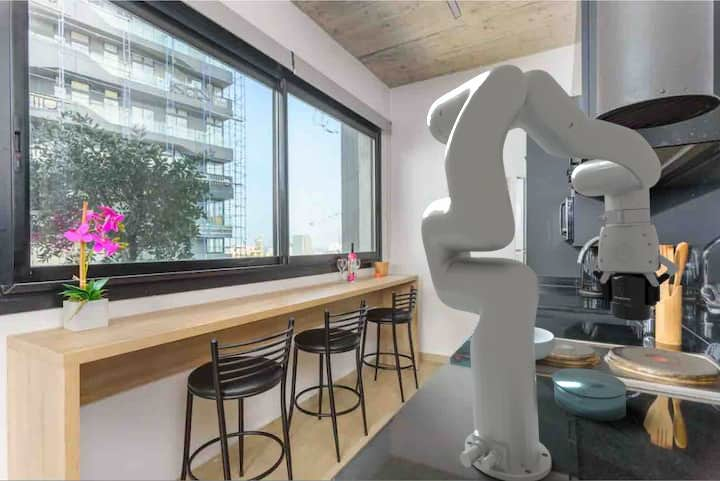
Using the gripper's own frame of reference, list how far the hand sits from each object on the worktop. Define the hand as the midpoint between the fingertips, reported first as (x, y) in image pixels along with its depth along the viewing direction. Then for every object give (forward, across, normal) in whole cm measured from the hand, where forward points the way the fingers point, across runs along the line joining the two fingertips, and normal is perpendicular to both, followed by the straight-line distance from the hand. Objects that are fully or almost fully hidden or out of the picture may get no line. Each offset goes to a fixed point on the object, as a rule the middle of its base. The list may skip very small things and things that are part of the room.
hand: (630, 302), depth 74 cm
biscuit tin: (+20, -5, -12) cm, 23 cm away
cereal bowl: (+20, -27, +5) cm, 34 cm away
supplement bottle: (+4, 0, 0) cm, 4 cm away
